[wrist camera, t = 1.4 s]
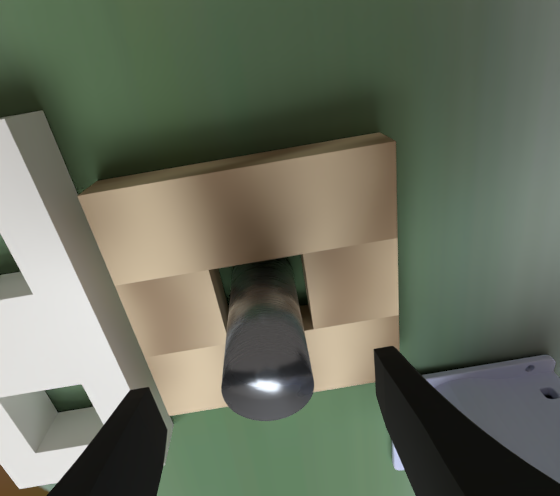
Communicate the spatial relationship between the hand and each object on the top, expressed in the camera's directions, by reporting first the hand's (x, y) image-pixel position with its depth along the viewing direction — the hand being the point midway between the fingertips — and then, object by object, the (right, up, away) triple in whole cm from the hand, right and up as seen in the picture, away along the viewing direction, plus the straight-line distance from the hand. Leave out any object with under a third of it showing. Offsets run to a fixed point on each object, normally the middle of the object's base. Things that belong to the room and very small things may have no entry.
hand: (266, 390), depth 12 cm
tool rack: (-11, +1, +6) cm, 13 cm away
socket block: (0, +3, +6) cm, 7 cm away
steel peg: (0, +3, +6) cm, 7 cm away
